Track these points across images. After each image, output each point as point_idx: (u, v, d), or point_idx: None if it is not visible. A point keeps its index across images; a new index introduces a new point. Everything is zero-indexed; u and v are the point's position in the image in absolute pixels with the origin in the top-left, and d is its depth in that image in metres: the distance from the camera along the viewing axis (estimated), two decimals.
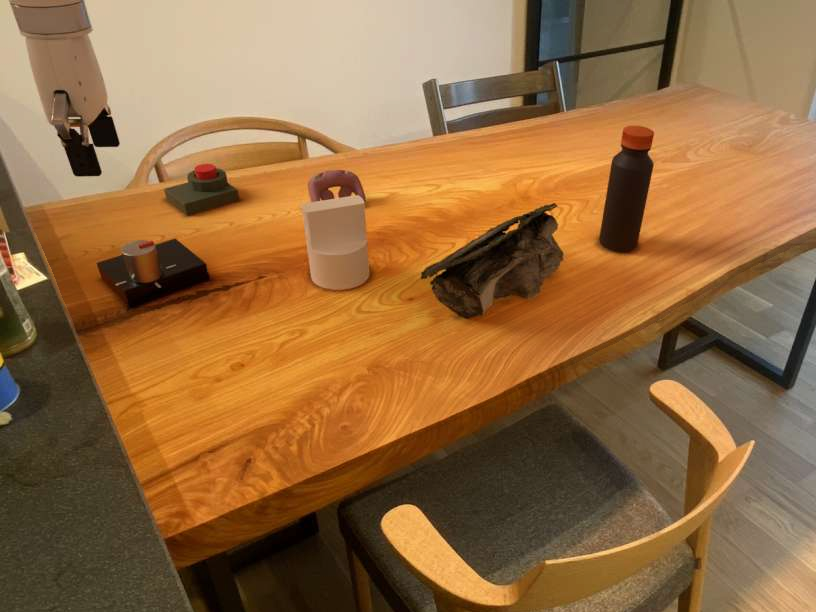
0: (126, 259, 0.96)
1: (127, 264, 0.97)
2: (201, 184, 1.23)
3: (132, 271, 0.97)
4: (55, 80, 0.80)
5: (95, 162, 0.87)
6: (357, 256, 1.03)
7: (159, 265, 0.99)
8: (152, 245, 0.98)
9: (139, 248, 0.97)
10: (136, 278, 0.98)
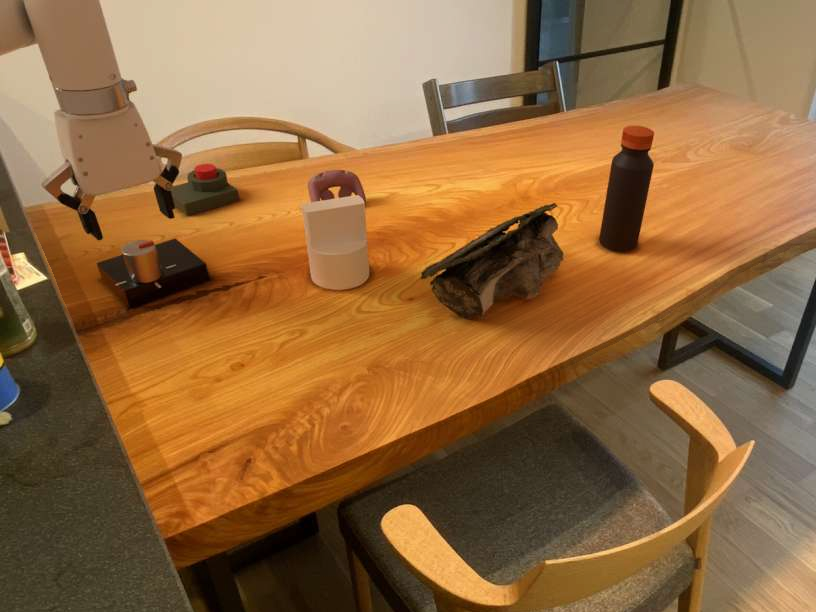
0: (126, 259, 0.96)
1: (127, 264, 0.97)
2: (201, 184, 1.23)
3: (132, 271, 0.97)
4: (64, 151, 0.85)
5: (94, 228, 0.90)
6: (357, 256, 1.03)
7: (159, 265, 0.99)
8: (152, 245, 0.98)
9: (139, 248, 0.97)
10: (136, 278, 0.98)
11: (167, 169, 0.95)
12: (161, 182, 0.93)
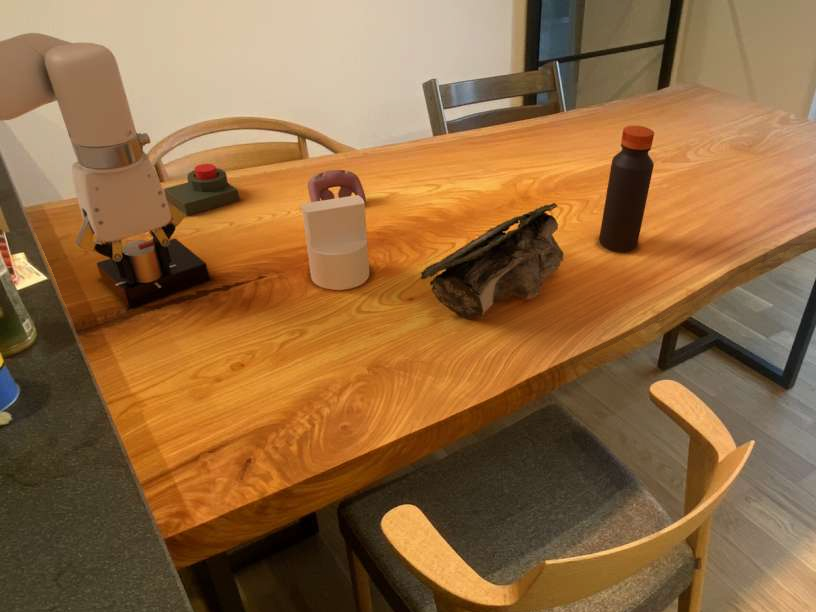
0: None
1: None
2: (201, 184, 1.23)
3: (132, 271, 0.97)
4: (81, 201, 0.89)
5: (126, 274, 0.96)
6: (357, 256, 1.03)
7: (159, 265, 0.99)
8: (152, 245, 0.98)
9: (139, 248, 0.97)
10: (136, 278, 0.98)
11: None
12: (160, 236, 0.97)
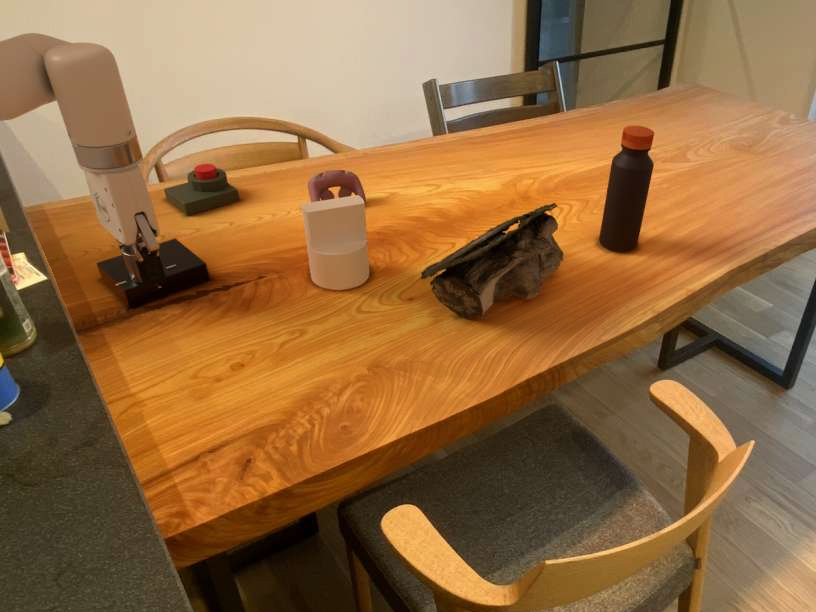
0: None
1: None
2: (201, 184, 1.23)
3: None
4: (135, 204, 0.89)
5: (161, 268, 0.98)
6: (357, 256, 1.03)
7: None
8: None
9: (141, 246, 0.97)
10: None
11: None
12: None
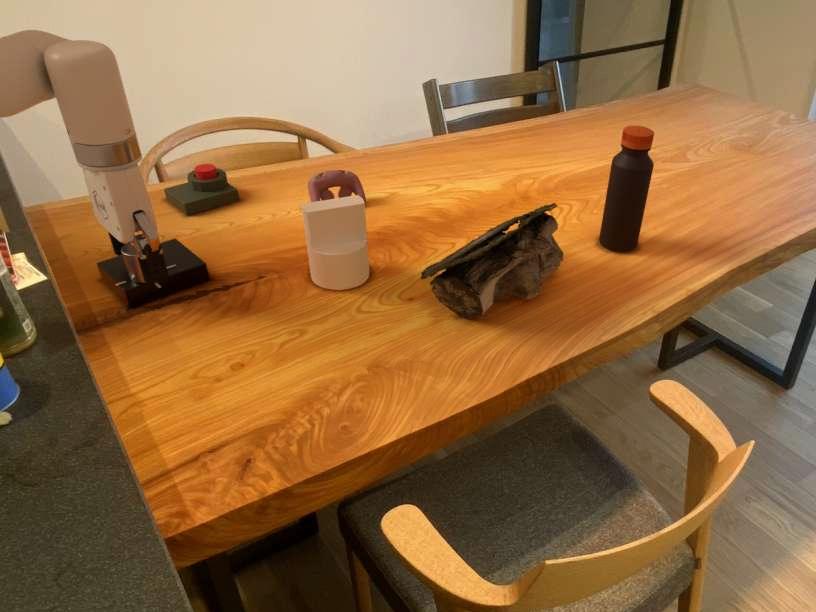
0: None
1: None
2: (201, 184, 1.23)
3: None
4: (134, 203, 0.89)
5: (164, 266, 0.96)
6: (357, 256, 1.03)
7: None
8: None
9: None
10: None
11: None
12: None
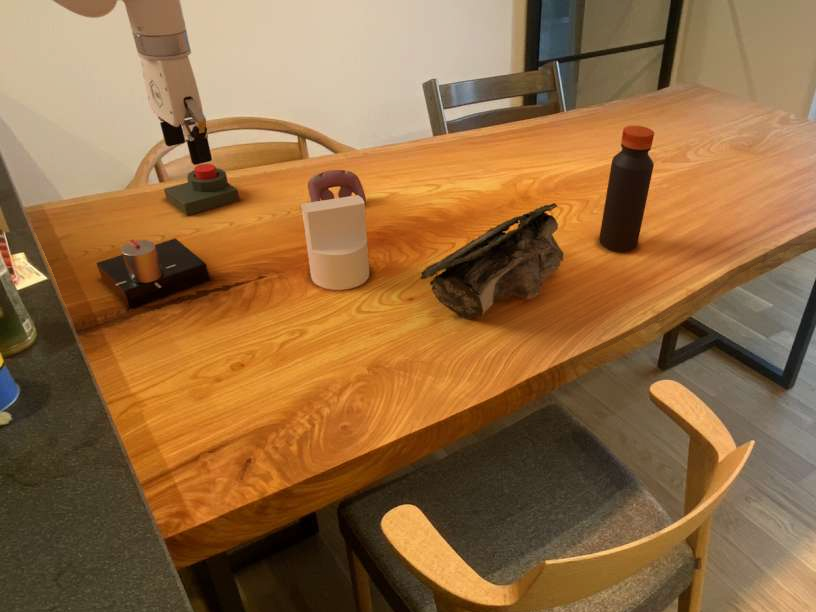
0: (150, 257, 0.97)
1: (151, 263, 0.97)
2: (201, 184, 1.23)
3: (156, 266, 0.98)
4: (185, 89, 1.06)
5: (208, 150, 1.13)
6: (357, 256, 1.03)
7: None
8: (137, 241, 0.98)
9: (141, 246, 0.97)
10: (159, 273, 0.99)
11: None
12: None
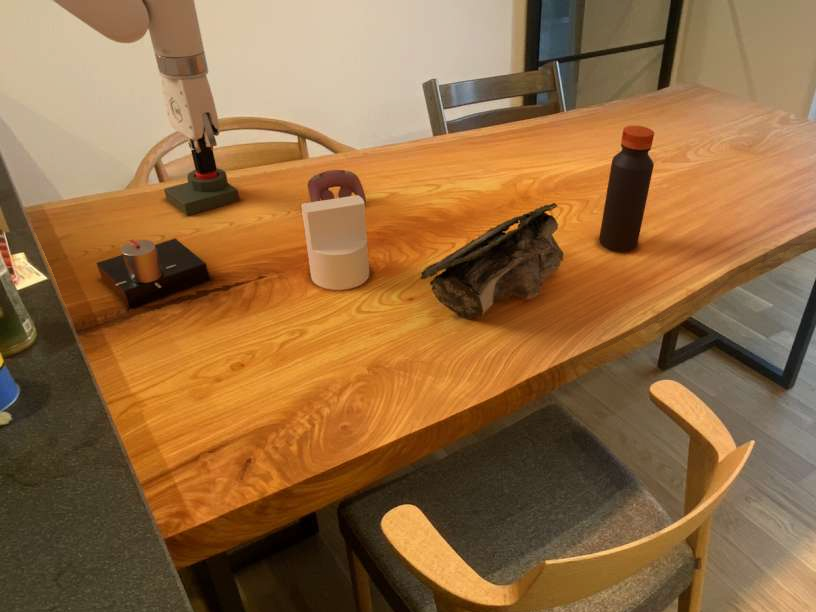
0: (150, 257, 0.97)
1: (151, 263, 0.97)
2: (201, 184, 1.23)
3: (156, 266, 0.98)
4: (203, 106, 1.14)
5: (213, 161, 1.24)
6: (357, 256, 1.03)
7: None
8: (137, 241, 0.98)
9: (141, 246, 0.97)
10: (159, 273, 0.99)
11: None
12: None
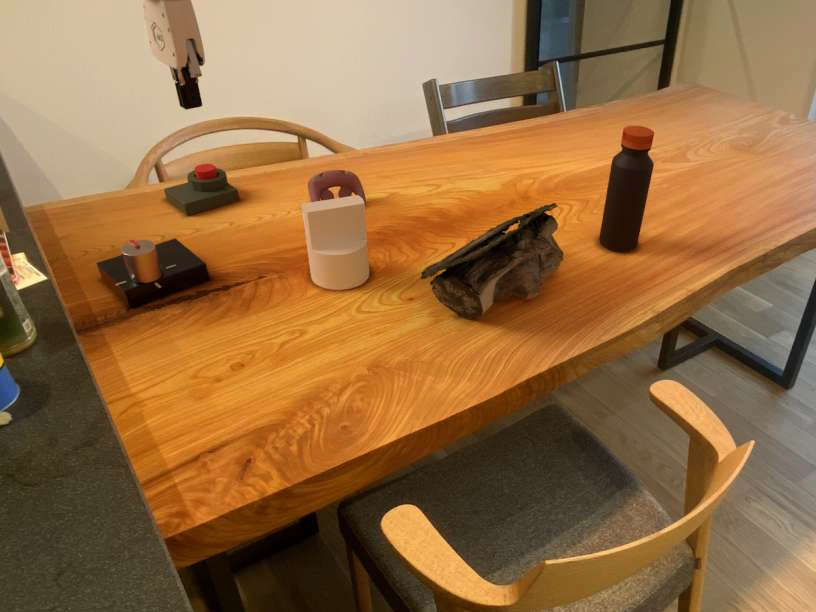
0: (150, 257, 0.97)
1: (151, 263, 0.97)
2: (201, 184, 1.23)
3: (156, 266, 0.98)
4: (187, 31, 1.06)
5: (199, 95, 1.17)
6: (357, 256, 1.03)
7: None
8: (137, 241, 0.98)
9: (141, 246, 0.97)
10: (159, 273, 0.99)
11: None
12: None
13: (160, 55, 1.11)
